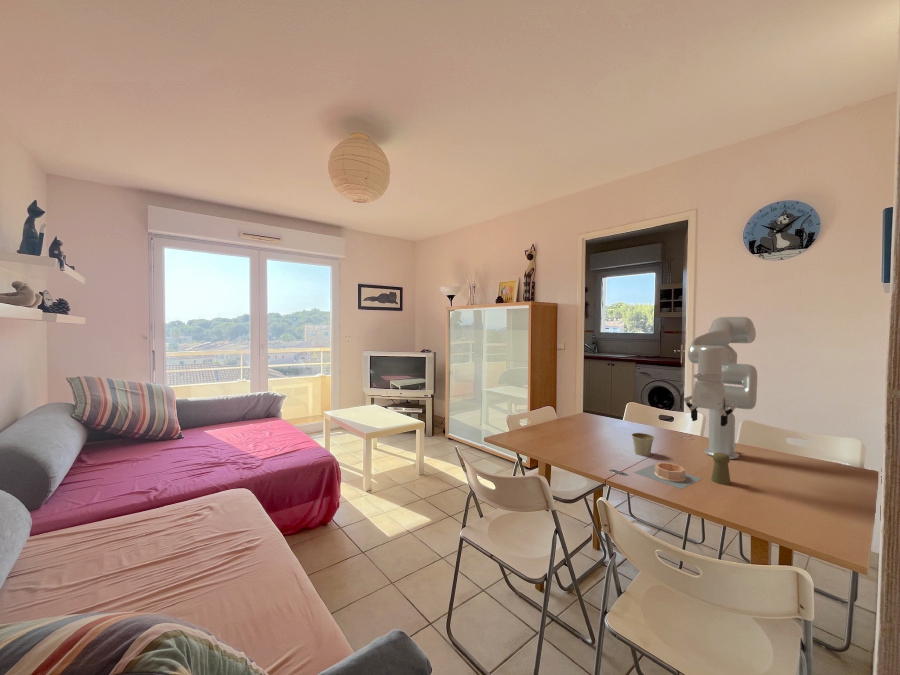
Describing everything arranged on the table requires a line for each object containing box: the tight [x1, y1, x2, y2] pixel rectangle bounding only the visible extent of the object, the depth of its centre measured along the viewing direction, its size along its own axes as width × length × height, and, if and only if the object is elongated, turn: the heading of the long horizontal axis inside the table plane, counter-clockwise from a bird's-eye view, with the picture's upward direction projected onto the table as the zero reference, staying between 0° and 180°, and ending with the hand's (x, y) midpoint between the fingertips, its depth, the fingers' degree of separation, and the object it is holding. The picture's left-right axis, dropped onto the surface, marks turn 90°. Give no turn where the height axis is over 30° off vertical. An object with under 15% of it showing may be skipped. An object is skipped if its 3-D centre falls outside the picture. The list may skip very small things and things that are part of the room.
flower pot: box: [630, 432, 655, 457], centre depth 171 cm, size 9×9×9 cm
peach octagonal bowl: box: [655, 462, 686, 482], centre depth 145 cm, size 10×10×4 cm
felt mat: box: [633, 463, 703, 490], centre depth 146 cm, size 16×18×1 cm
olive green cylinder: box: [710, 453, 731, 486], centre depth 140 cm, size 6×6×11 cm
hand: (708, 423), depth 144 cm, fingers open, 9 cm apart
